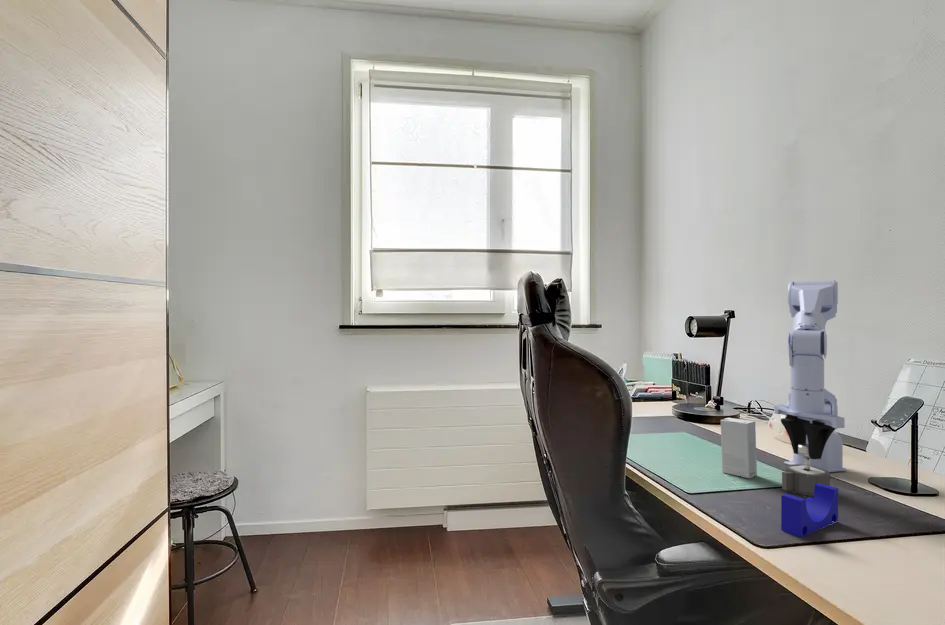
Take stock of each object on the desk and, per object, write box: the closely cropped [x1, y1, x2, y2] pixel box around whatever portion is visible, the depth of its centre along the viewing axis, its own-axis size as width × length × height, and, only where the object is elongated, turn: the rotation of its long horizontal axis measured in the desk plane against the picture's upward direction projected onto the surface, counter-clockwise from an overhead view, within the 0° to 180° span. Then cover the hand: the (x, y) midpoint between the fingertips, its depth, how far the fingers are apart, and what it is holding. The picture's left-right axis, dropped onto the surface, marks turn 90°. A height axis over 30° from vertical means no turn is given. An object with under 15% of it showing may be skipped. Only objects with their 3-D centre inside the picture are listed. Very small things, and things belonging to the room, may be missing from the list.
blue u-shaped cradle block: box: [780, 483, 839, 539], centre depth 86 cm, size 12×4×6 cm, turn 120°
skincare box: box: [720, 417, 758, 479], centre depth 112 cm, size 6×4×12 cm
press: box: [781, 464, 831, 497], centre depth 102 cm, size 9×7×4 cm
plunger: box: [798, 443, 810, 471], centre depth 102 cm, size 3×3×6 cm
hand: (807, 456), depth 102 cm, fingers closed on plunger, 3 cm apart
